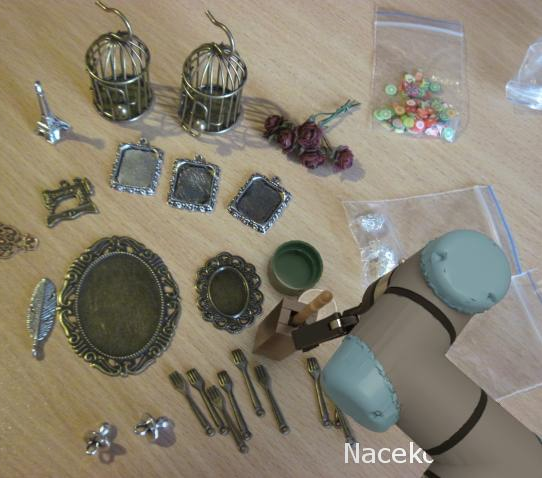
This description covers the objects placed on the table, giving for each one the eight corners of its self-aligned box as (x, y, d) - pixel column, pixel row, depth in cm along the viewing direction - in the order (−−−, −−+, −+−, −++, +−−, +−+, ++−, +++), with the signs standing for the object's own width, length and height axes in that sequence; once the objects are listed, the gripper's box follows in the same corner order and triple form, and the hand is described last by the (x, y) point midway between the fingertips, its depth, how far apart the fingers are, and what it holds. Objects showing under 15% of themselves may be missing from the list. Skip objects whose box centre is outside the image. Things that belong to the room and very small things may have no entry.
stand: (279, 361, 112) (311, 343, 88) (251, 352, 112) (275, 332, 88) (286, 332, 114) (319, 307, 90) (258, 324, 114) (284, 297, 90)
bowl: (309, 302, 117) (317, 296, 111) (261, 288, 117) (266, 281, 111) (320, 256, 121) (327, 248, 115) (273, 243, 121) (279, 234, 115)
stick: (295, 330, 92) (333, 302, 72) (286, 327, 92) (321, 298, 72) (297, 321, 93) (335, 290, 72) (288, 318, 93) (323, 287, 72)
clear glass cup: (323, 302, 117) (337, 291, 108) (322, 339, 115) (336, 331, 105) (287, 297, 117) (298, 286, 107) (285, 334, 114) (295, 326, 105)
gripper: (489, 248, 65) (413, 290, 85) (289, 294, 61) (259, 327, 81) (514, 310, 63) (430, 338, 83) (309, 361, 59) (272, 378, 79)
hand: (345, 332), depth 82 cm, fingers open, 13 cm apart
